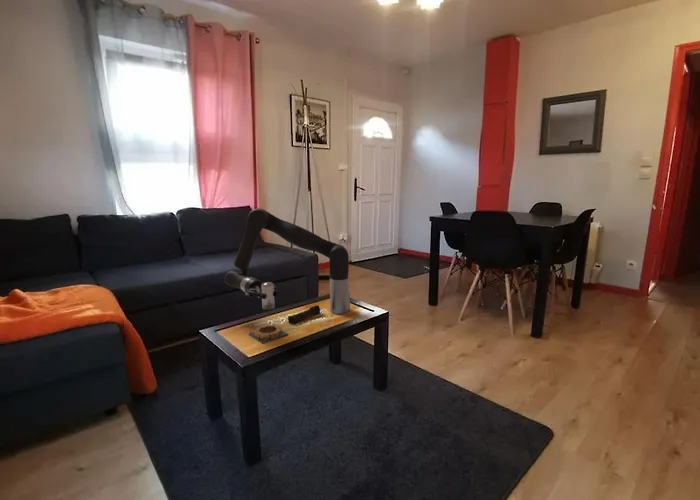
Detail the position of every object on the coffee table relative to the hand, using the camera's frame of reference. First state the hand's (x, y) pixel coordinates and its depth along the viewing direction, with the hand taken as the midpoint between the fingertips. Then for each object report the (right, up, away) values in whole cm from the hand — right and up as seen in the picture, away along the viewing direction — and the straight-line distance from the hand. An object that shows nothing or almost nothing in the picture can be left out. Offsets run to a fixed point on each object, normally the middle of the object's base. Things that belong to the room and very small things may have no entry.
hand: (271, 295), depth 151 cm
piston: (-2, -6, +3) cm, 7 cm away
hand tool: (+11, -14, +23) cm, 29 cm away
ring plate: (-2, -17, +4) cm, 18 cm away
